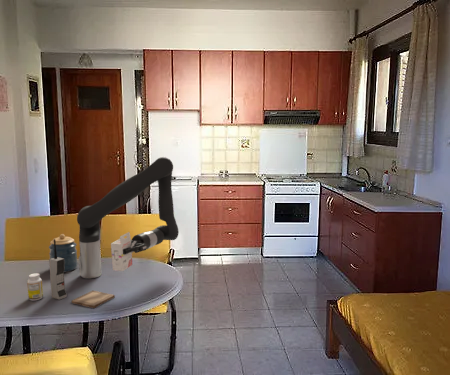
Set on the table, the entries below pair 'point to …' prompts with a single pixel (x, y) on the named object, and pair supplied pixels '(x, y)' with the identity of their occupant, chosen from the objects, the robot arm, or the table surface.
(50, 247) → the canister
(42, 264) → the table surface
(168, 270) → the table surface
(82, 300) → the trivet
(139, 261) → the table surface
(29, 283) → the supplement bottle
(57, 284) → the vintage mobile phone
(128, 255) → the ink cartridge box
